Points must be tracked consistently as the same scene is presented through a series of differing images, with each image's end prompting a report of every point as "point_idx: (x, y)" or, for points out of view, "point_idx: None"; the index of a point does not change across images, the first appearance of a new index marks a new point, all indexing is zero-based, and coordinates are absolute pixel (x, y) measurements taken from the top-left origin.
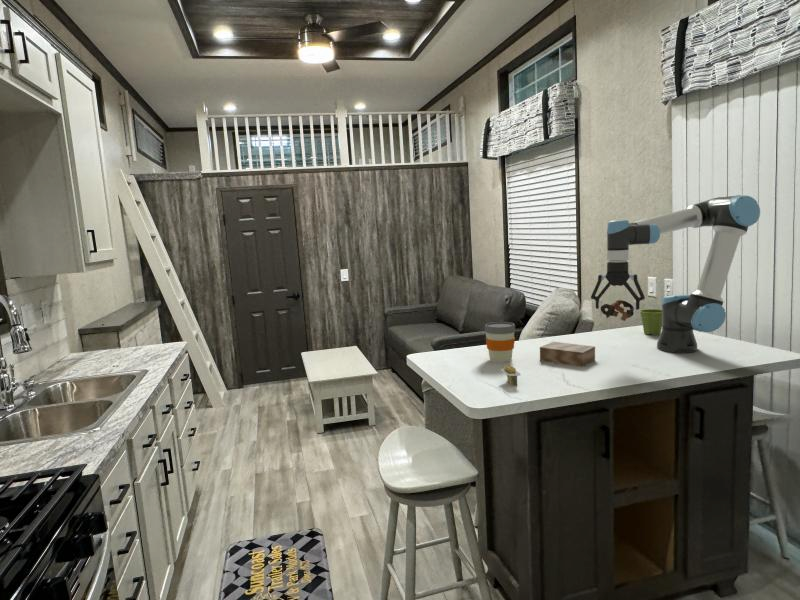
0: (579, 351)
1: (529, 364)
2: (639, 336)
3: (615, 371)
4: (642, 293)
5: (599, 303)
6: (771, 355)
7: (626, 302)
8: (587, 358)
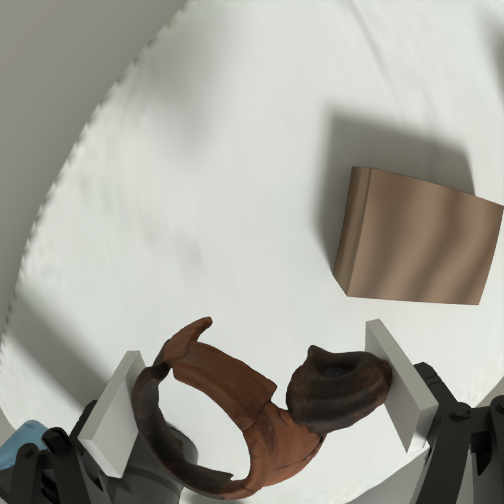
0: (388, 185)
1: (486, 145)
2: (261, 501)
3: (232, 150)
4: (13, 481)
5: (420, 389)
6: (20, 416)
7: (197, 485)
8: (352, 211)
